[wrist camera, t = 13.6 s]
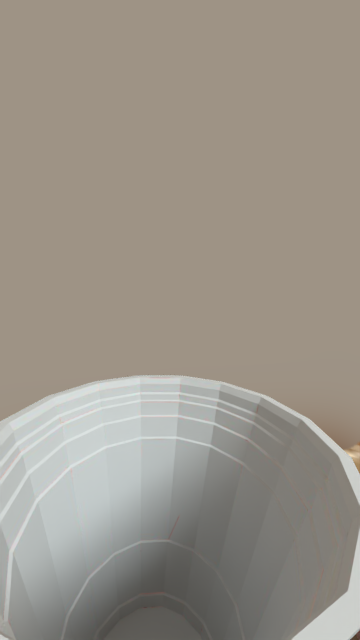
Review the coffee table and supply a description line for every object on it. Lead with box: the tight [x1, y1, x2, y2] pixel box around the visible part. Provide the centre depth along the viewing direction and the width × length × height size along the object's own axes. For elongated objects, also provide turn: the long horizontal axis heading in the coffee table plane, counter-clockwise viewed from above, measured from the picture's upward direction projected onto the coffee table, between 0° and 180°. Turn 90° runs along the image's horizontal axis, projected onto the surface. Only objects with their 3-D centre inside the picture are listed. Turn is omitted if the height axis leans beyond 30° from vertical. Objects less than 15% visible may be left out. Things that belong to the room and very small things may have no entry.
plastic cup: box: [0, 375, 360, 640], centre depth 10 cm, size 11×11×12 cm
